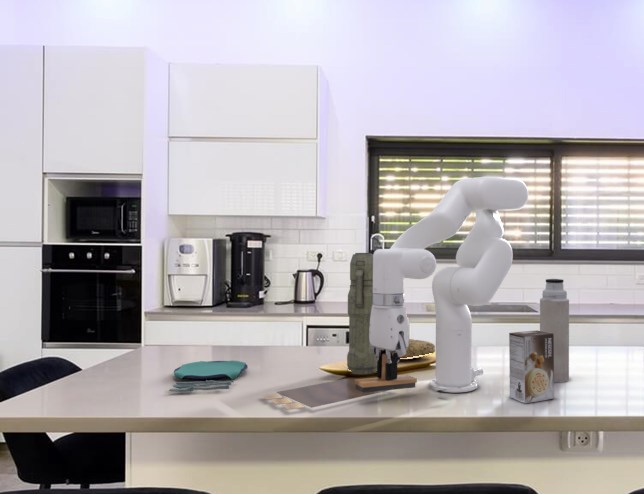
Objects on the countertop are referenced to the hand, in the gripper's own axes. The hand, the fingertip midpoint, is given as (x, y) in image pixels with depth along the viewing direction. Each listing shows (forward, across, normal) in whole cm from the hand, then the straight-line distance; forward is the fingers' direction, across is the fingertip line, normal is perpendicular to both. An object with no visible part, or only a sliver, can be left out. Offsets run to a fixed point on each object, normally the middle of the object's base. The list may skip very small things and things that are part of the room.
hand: (387, 377), depth 132 cm
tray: (+6, +14, +6) cm, 16 cm away
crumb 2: (+6, +14, +20) cm, 25 cm away
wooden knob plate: (+2, 0, 0) cm, 2 cm away
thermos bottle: (+5, -12, -50) cm, 52 cm away
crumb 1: (+6, +19, +20) cm, 28 cm away
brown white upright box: (+6, -20, -29) cm, 36 cm away
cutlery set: (+6, +50, +24) cm, 56 cm away
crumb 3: (+6, +9, +20) cm, 23 cm away
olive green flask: (+6, +27, -12) cm, 30 cm away
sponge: (+6, +35, -34) cm, 49 cm away
